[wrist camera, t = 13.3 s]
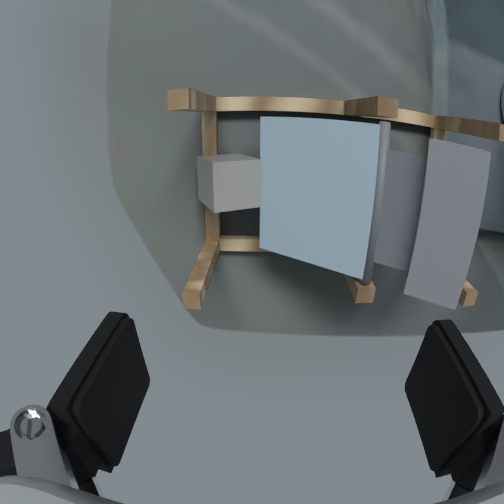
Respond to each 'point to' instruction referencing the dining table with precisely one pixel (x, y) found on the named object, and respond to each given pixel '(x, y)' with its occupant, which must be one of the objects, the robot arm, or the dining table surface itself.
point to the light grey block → (229, 182)
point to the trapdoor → (371, 202)
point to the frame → (358, 107)
